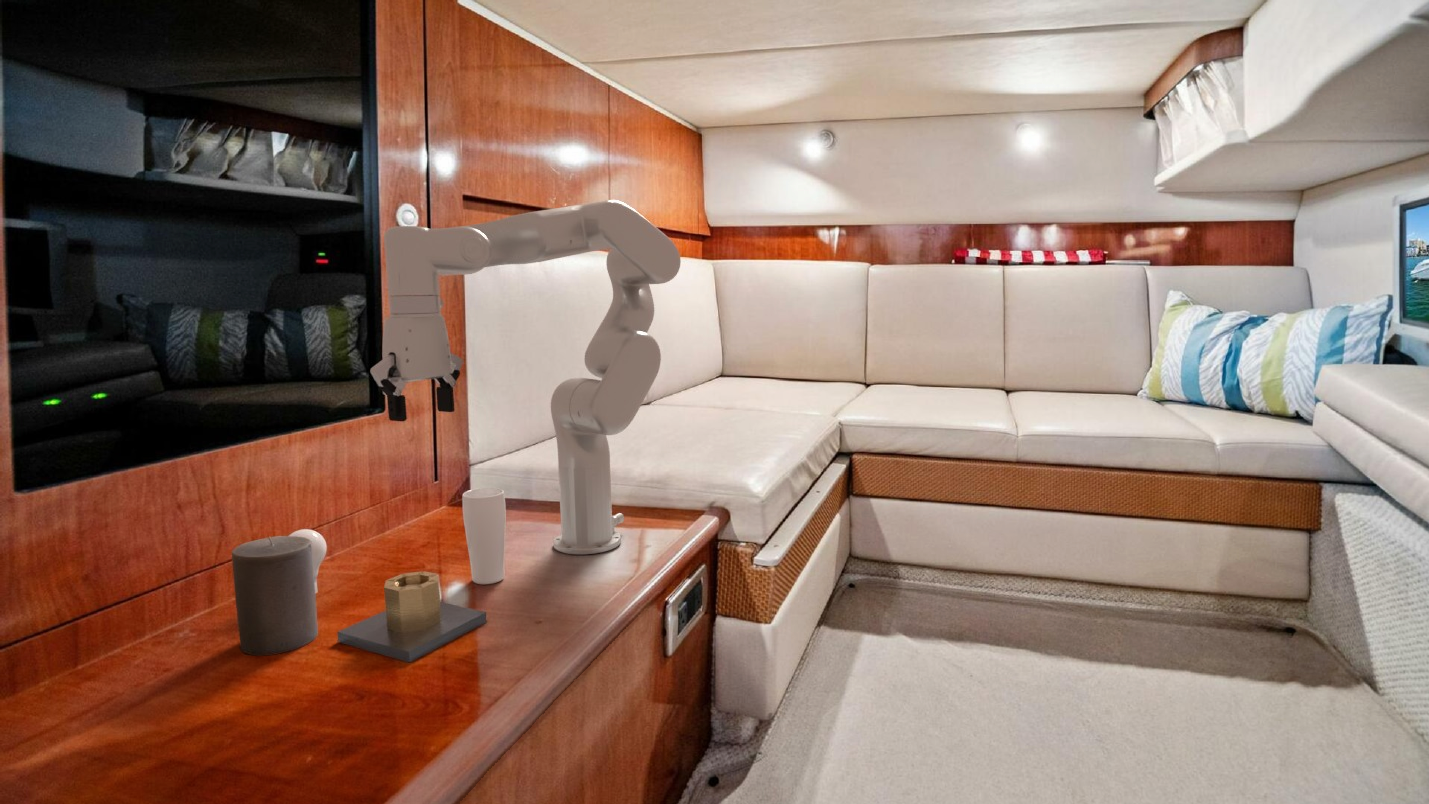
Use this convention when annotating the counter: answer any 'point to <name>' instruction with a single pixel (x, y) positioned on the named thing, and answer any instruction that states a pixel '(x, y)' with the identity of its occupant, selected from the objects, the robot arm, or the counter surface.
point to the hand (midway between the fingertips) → (422, 415)
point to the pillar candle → (275, 594)
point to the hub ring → (412, 601)
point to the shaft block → (411, 633)
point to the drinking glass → (485, 533)
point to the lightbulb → (314, 549)
